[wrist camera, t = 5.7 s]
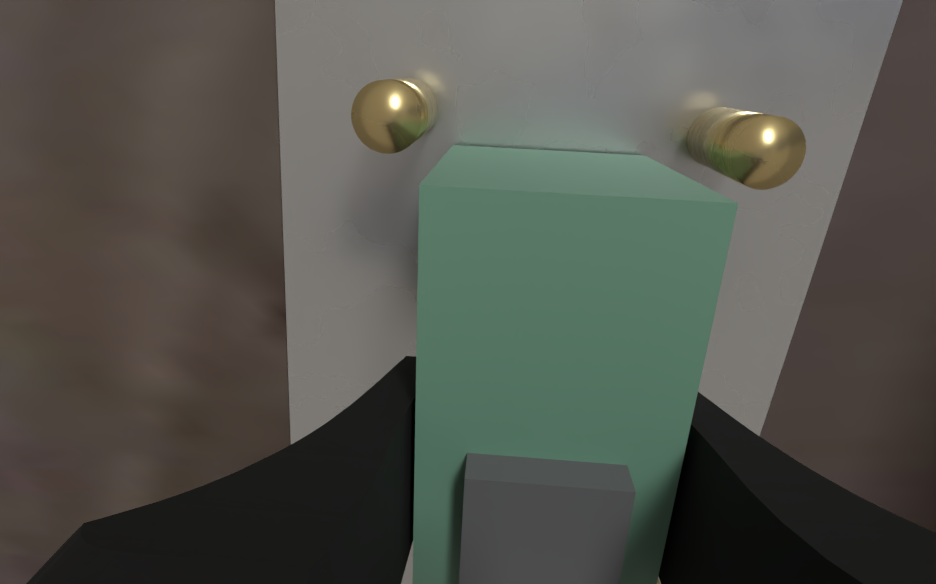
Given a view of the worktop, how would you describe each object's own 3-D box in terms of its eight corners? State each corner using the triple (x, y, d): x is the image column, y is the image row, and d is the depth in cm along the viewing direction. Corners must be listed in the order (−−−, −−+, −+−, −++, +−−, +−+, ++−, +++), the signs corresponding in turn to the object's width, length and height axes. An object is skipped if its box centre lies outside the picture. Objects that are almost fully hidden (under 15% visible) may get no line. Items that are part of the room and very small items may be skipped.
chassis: (887, -47, 11) (1042, -95, 8) (683, 608, 18) (722, 729, 15) (290, -97, 12) (205, -164, 8) (306, 564, 18) (263, 672, 15)
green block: (645, 155, 12) (758, 213, 6) (596, 474, 15) (648, 694, 9) (453, 144, 12) (411, 193, 7) (441, 461, 15) (405, 672, 9)
